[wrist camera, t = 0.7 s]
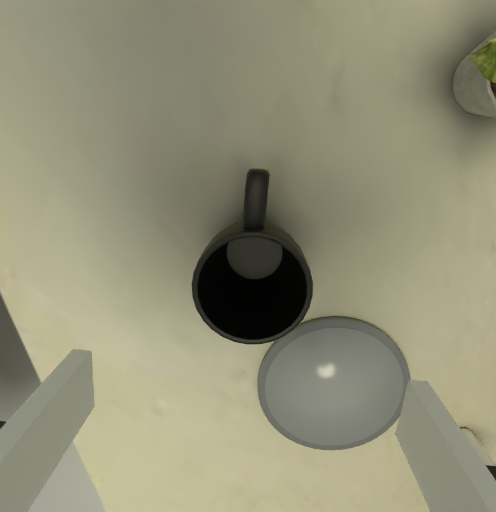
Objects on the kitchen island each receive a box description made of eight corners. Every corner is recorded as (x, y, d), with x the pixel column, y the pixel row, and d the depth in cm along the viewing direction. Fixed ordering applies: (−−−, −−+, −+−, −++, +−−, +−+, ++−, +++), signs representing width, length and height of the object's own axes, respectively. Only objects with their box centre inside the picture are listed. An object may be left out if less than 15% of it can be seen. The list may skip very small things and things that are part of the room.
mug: (310, 168, 32) (330, 176, 23) (293, 297, 35) (305, 350, 26) (215, 160, 32) (196, 165, 23) (207, 289, 35) (188, 339, 26)
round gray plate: (265, 309, 35) (265, 313, 35) (421, 323, 35) (425, 328, 34) (252, 437, 40) (251, 443, 39) (391, 450, 40) (394, 457, 39)
